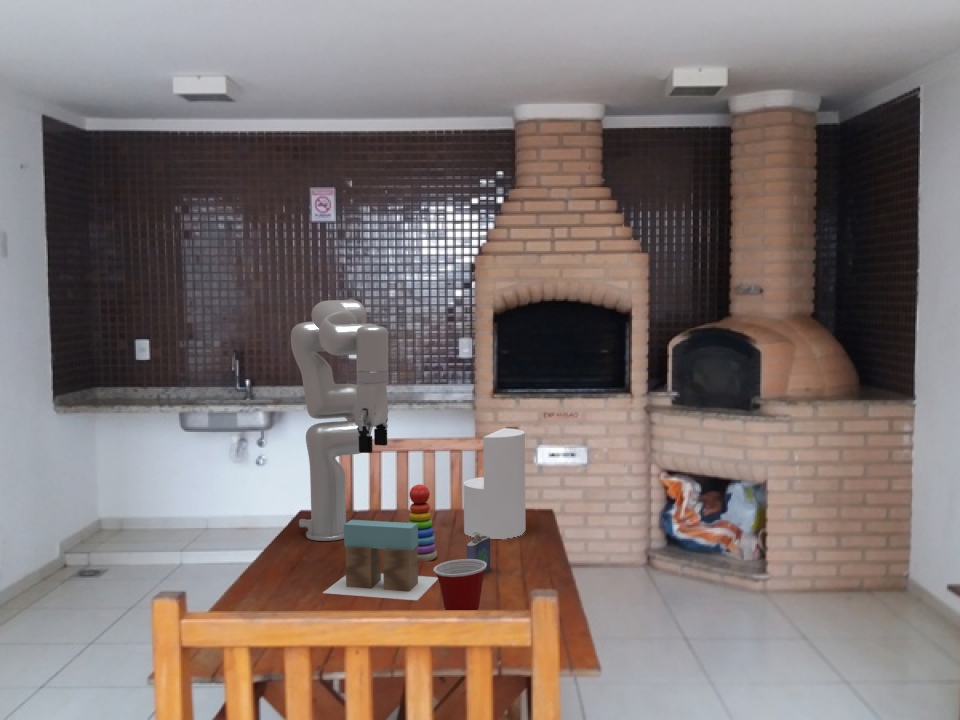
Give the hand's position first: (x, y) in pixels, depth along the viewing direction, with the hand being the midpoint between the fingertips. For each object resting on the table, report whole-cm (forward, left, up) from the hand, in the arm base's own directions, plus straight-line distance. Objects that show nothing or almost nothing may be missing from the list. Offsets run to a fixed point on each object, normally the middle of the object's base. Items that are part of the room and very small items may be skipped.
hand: (373, 448), depth 214 cm
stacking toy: (+8, +12, -30) cm, 33 cm away
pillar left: (+2, -13, -29) cm, 32 cm away
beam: (+7, -13, -20) cm, 25 cm away
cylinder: (+20, +41, -30) cm, 54 cm away
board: (+7, -13, -30) cm, 33 cm away
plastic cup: (+30, -29, -30) cm, 51 cm away
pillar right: (+11, -13, -29) cm, 34 cm away
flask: (+26, 0, -30) cm, 39 cm away
